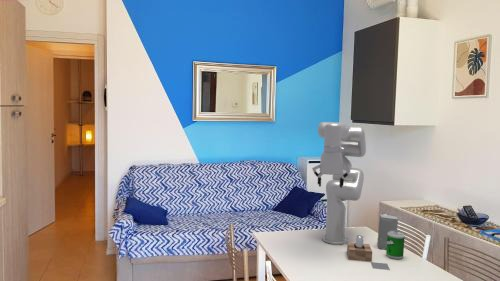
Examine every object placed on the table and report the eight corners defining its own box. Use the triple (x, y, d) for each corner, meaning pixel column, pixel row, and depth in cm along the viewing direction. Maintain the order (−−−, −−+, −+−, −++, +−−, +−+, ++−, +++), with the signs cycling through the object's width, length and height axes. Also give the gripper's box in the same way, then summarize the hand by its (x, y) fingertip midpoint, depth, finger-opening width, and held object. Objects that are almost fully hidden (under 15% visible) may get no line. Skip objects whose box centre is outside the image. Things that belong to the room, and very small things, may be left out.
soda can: (402, 255, 184) (403, 230, 183) (404, 261, 177) (405, 235, 176) (385, 253, 186) (386, 228, 185) (386, 259, 179) (388, 233, 178)
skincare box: (378, 248, 193) (380, 217, 191) (377, 244, 200) (378, 213, 198) (396, 250, 191) (398, 218, 189) (394, 245, 198) (396, 215, 196)
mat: (370, 262, 174) (370, 262, 174) (387, 264, 173) (387, 263, 173) (372, 269, 167) (372, 268, 167) (390, 270, 166) (390, 269, 166)
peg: (354, 255, 182) (356, 234, 181) (361, 256, 182) (362, 235, 181) (355, 258, 179) (356, 237, 178) (362, 258, 179) (363, 237, 178)
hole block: (346, 252, 186) (347, 242, 186) (368, 254, 184) (369, 244, 184) (348, 260, 176) (349, 249, 176) (371, 262, 175) (372, 251, 174)
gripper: (349, 149, 184) (347, 185, 185) (312, 148, 186) (311, 184, 187) (352, 151, 176) (350, 189, 178) (313, 150, 178) (312, 187, 180)
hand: (330, 186), depth 183 cm, fingers open, 9 cm apart
